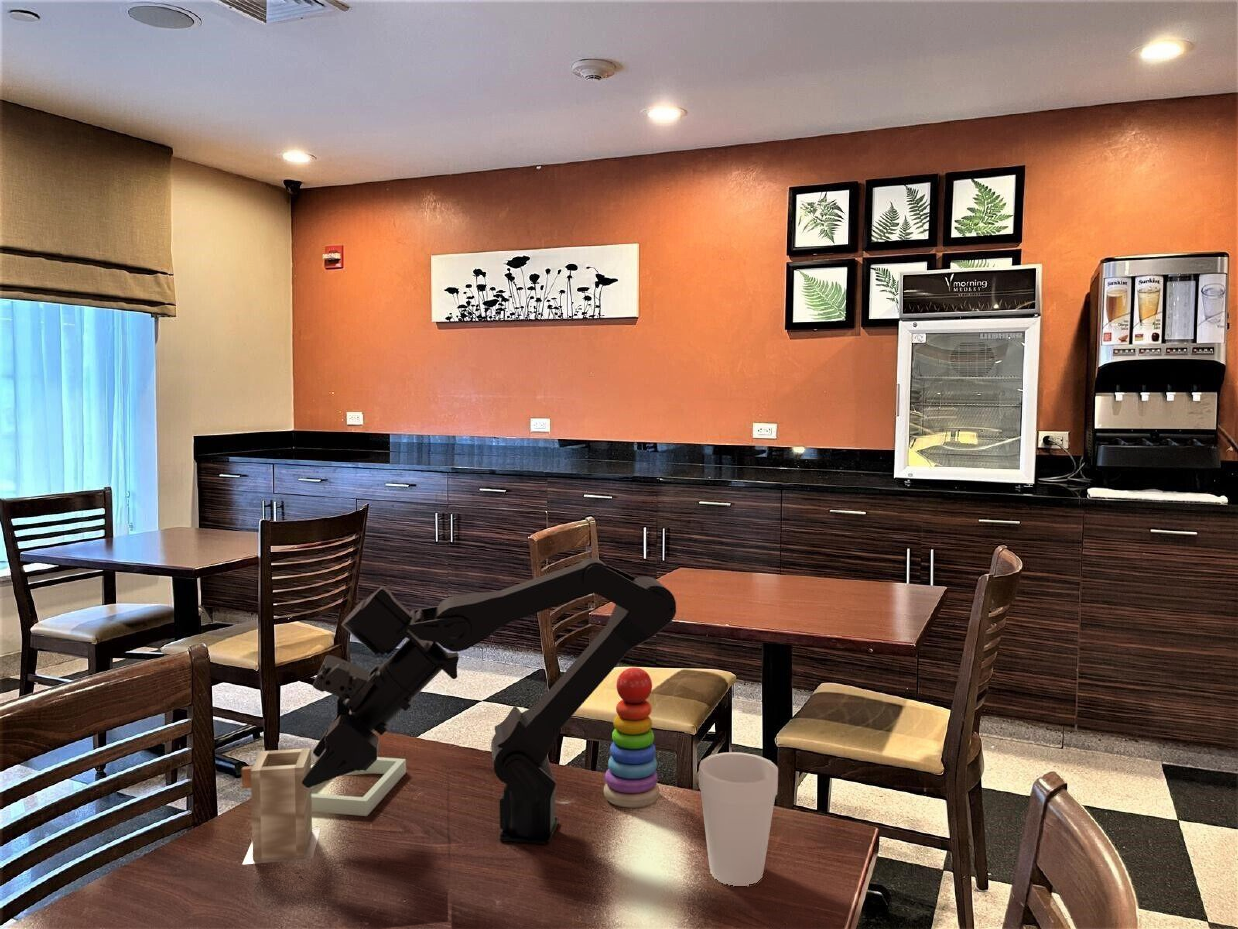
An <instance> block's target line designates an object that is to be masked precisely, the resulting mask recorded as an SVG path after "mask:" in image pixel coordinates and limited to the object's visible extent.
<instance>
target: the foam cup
mask: <svg viewBox="0 0 1238 929" xmlns="http://www.w3.org/2000/svg"><path fill="white" fill-rule="evenodd" d="M778 775H779V767H778V766H777V765H776V764H775V763H774V762H772V760H770V759H767V758H765V757H762V756H760V755H758V754H751V753H745V752H720V753H716V754H711V755H708V756H707V757H705V758H703V759H702V760H700V762H699V766H698V788H699V790H700V795H701V797H700V798H701V805H702V813H703V822H704V831H705V839H706V840H705V841H706V850H707V857H708V866H709V869H710V870H709V873H710V875H711V874H712V875H711V876H712V878H713V877H714V878H713V879H714V880H715V879H717V880H718V881H717V880H716V881H717V882H719V883H720V884H722V883H723V885H726V884H728V885H727V886H730V885H733V886H732V887H734V886H747V887H750V886H749V884H753V883H757V882H758V881H759V880H760V879H761V878H762V879H763V874H764V870H765V864H766V857H767V851H768V845H769V844H768V843H769V838H770V833H771V826H772V820H773V815H774V814H773V812H774V806H775V800H776V796H777V795H778V789H779V788H778V787H779V786H778V785H779V784H778V783H779V776H778ZM762 879H761V880H762ZM761 880H760V881H761ZM760 881H759V882H760ZM759 882H758V883H759ZM758 883H757V884H758Z"/></svg>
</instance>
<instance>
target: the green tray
mask: <svg viewBox="0 0 1238 929" xmlns="http://www.w3.org/2000/svg"><path fill="white" fill-rule="evenodd" d="M406 773H407V760H406V758H395V757H383V756H382V757H380V756H377V760H376V761H375V762H374V763H373V764H372V765H371V766H370V767H369V768H368V769H367V770H366V771H364V770H361V771H357V770H356V771H353V772H350V773H347V774H344V775H341V776H353V775H356V776H357V775H367V774H368V775H369V774H378V775H379V774H380V775H381V774H382V776H381V778H380V779H378V781H376V783H375V784H373V786H371V788H370V789H369V790H368V791H367V792H366V793H365V794H364V795H363V796H350V795H348V796H347V795H337V794H321V793H312V792H311V800H312V813H323V814H324V813H325V814H338V815H351V816H364V817H367V816H368V815H369V814H370V813H371V812H372V811H373V810H374V809H375V808H376V807H377V806H378V804H379V803H380V802H381V801H382V800H383V799H384V798H385V797H386V795H387V794H388V793H389V792H390V791H391V790H392V789H393V788H394V787H395V785H396V784H397V783H399V781H400V780H401V778H403V776H404V775H405V774H406ZM341 776H340V777H341ZM316 786H317V785H315V786H312V787H311V791H313V789H314V788H316Z"/></svg>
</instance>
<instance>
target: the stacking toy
mask: <svg viewBox="0 0 1238 929" xmlns="http://www.w3.org/2000/svg"><path fill="white" fill-rule="evenodd" d="M615 688H616V691H617V694H618V696H619V698H621V700H619V701H618V702H617V704H616V706H615V712H616V714H617V715H616V716H615V717H614V718H613V721H612V722H613V727H614V729H613V731H612V733H611V734H612V735H611V738H612V741H613V742H612V743H611V745H610V747H609V753H610V756H609V759H608V762H607V768H608V769H607V770H606V771H605V775H604V782H605V784H604V785H603V795H604V798H605V799H606V800H607V801H608V802H609V803H611V804H613V805H615V806H617V807H622V808H630V809H631V808H643V807H646V806H647V807H648V806H649V805H650V806H651V805H652V804H653V803H655V802H656V801H657V800H658V798H659V796H660V791H661V790H660V788H659V785H658V784H657V783H658V774H657V772H656V770H657V767H658V761H657V758H656V757H655V756H656V750H657V749H656V746H655V744H654V740H655V734H654V731H653V730H652V726H653V721H652V718H651V717H650V715H651V713H652V705H651V703H650V702H649V701H648V700H647V699H648V698H649V697H650V695H651V693H652V690H653V681H652V679H651V676H650V674H649V673H648V672H647V671H646V670H644V669H642V668H640V667H628V668H626V669H625V670H623V671H621V673H620V674H619V675H618V678H617V680H616V687H615Z"/></svg>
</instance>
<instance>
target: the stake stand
mask: <svg viewBox="0 0 1238 929" xmlns="http://www.w3.org/2000/svg"><path fill="white" fill-rule="evenodd" d="M321 829H322V826H318V827H317V826H315V827H312V833H311V837H310V840H309V843H308V847H307V850H306V853H305V855H298V856H287V857H275V858H263V859H253V843H252V842H251V843H250V845H249V847H248V850H247V852H246V855H245V856H244V860H243V862H242V864H241V865H243V866H245V865H255V864H265V863H266V864H268V863H280V862H290V861H299V860H300V861H302V860H313V858H314V854H315V850H316V847H317V844H318V840H319V837H320V833H321V831H322V830H321Z"/></svg>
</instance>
